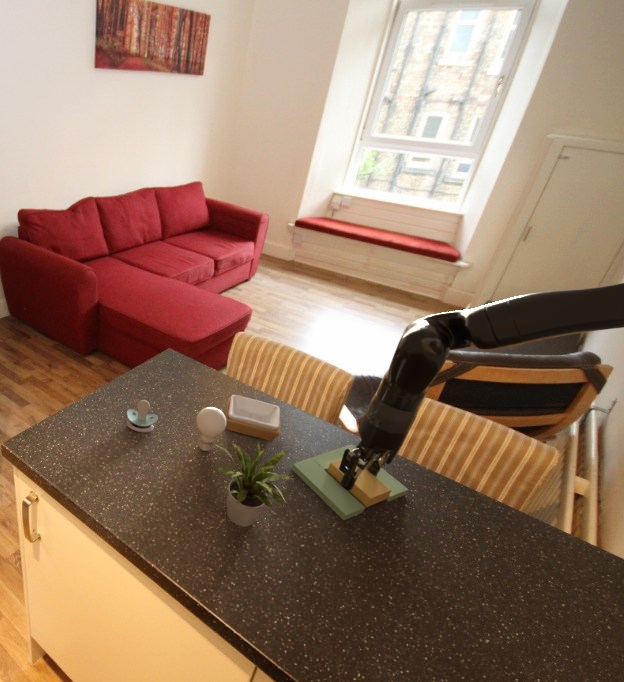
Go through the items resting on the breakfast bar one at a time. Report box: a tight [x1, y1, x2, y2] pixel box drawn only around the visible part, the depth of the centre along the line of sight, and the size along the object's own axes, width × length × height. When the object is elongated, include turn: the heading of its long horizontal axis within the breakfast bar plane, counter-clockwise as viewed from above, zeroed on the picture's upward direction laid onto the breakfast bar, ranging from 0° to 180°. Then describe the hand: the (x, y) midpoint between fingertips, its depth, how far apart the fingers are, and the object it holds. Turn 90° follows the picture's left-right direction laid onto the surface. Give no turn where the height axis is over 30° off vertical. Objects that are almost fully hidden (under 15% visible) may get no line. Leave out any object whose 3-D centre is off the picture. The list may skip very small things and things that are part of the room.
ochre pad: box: [327, 459, 392, 508], centre depth 91 cm, size 6×10×2 cm, turn 24°
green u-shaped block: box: [290, 444, 409, 521], centre depth 93 cm, size 18×14×2 cm
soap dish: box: [224, 394, 281, 442], centre depth 106 cm, size 12×10×5 cm
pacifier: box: [126, 399, 159, 433], centre depth 103 cm, size 7×6×6 cm
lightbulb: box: [195, 406, 227, 452], centre depth 96 cm, size 6×6×11 cm
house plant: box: [211, 440, 294, 528], centre depth 80 cm, size 14×14×16 cm
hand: (357, 482), depth 92 cm, fingers closed on ochre pad, 6 cm apart
